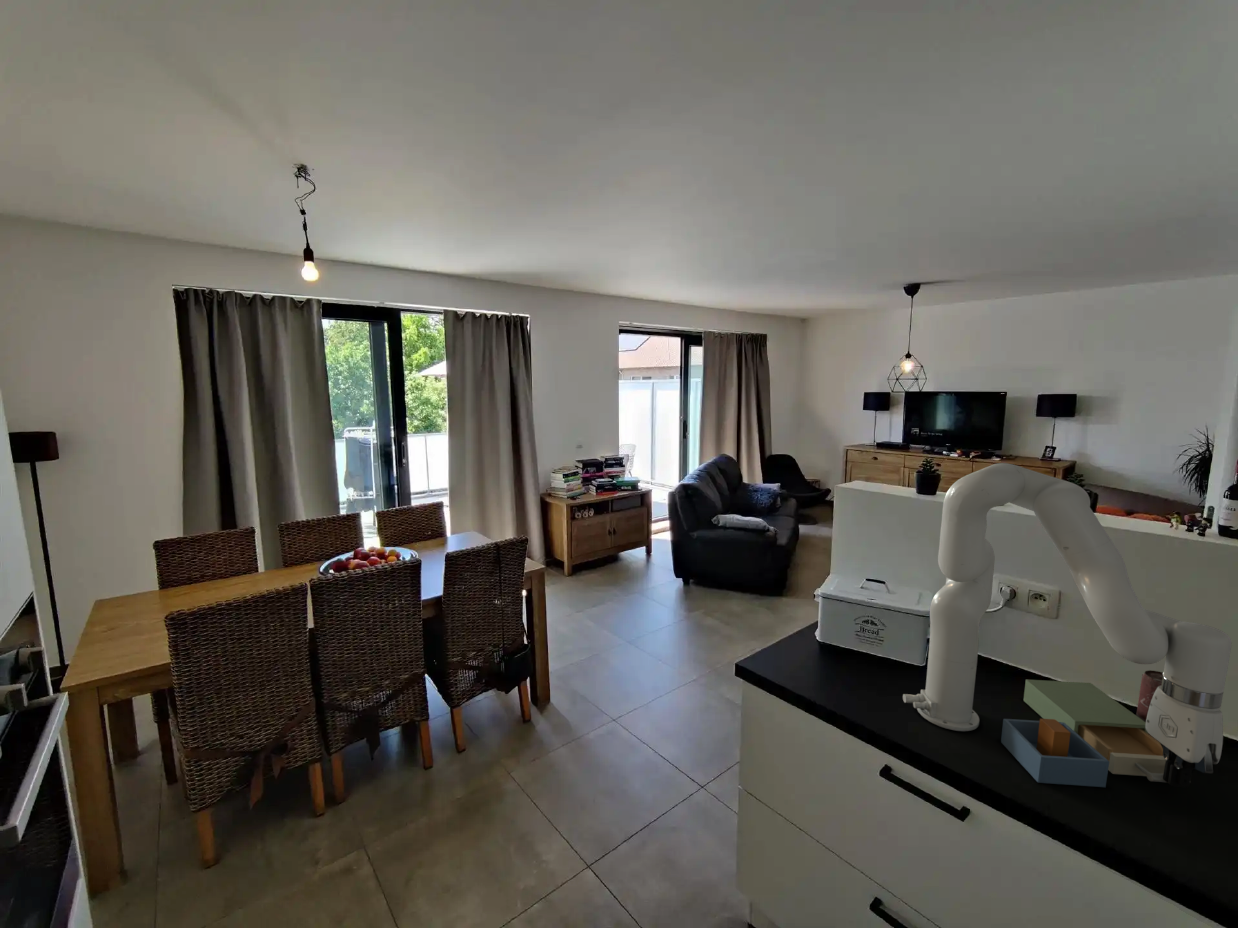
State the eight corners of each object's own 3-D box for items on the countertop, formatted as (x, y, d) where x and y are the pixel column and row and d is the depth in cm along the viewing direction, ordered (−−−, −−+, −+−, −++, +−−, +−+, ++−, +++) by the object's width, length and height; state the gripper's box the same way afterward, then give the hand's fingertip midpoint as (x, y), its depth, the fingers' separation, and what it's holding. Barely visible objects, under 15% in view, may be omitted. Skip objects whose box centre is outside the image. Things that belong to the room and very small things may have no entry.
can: (1181, 745, 116) (1191, 685, 114) (1147, 742, 117) (1156, 682, 115) (1160, 728, 122) (1169, 670, 120) (1127, 725, 123) (1135, 667, 121)
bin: (1037, 782, 105) (1041, 756, 104) (1000, 741, 117) (1003, 718, 116) (1105, 787, 104) (1109, 761, 103) (1061, 745, 116) (1064, 722, 115)
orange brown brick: (1049, 767, 108) (1054, 731, 107) (1035, 753, 113) (1039, 718, 112) (1066, 769, 108) (1070, 732, 107) (1051, 754, 112) (1055, 719, 111)
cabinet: (1146, 749, 115) (1149, 725, 114) (1072, 744, 116) (1075, 720, 115) (1087, 704, 131) (1090, 682, 130) (1023, 700, 133) (1025, 679, 132)
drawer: (1209, 795, 101) (1212, 777, 100) (1130, 789, 102) (1133, 771, 101) (1122, 728, 120) (1124, 713, 120) (1057, 725, 121) (1059, 709, 121)
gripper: (1133, 669, 105) (1121, 754, 108) (1207, 715, 90) (1191, 813, 93) (1176, 671, 104) (1162, 757, 107) (1257, 718, 90) (1239, 816, 92)
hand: (1175, 783), depth 100 cm, fingers closed
